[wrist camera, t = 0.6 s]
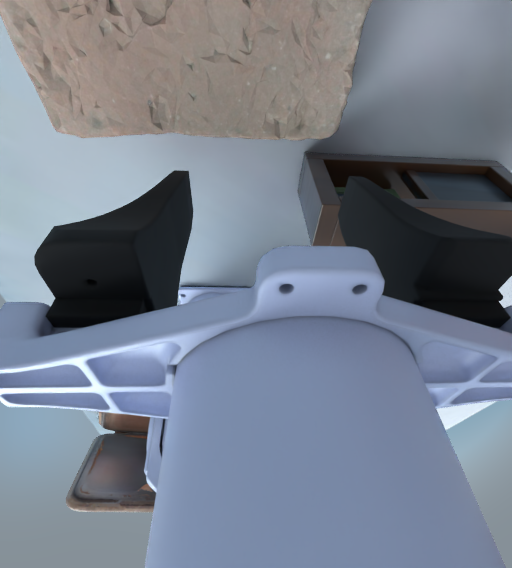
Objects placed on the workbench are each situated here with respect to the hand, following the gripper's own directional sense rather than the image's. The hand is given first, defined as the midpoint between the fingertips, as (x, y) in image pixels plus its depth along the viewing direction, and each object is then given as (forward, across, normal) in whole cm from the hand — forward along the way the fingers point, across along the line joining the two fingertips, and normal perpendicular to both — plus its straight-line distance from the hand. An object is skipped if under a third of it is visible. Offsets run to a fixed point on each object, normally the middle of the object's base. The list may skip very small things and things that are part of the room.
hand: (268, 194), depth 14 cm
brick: (+10, +4, -4) cm, 11 cm away
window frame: (+10, -11, +4) cm, 15 cm away
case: (+10, +16, +50) cm, 54 cm away
